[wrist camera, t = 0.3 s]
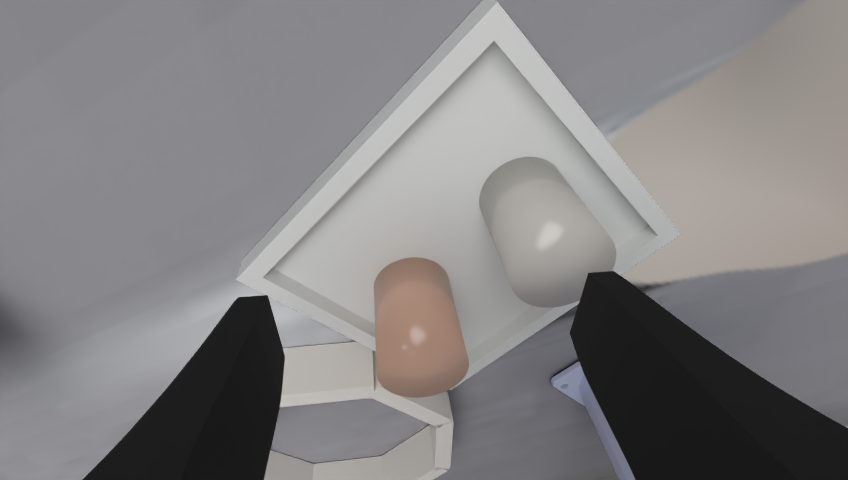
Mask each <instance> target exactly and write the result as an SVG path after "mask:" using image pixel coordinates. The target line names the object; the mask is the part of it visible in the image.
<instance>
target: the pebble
mask: <svg viewBox="0 0 848 480" xmlns="http://www.w3.org/2000/svg"><path fill="white" fill-rule="evenodd" d="M479 206H480V210H481V213H482V216H483V218H484V221H485V223H486V226H487V228H488V230H489V233H490V235H491V238H492V240H493V243H494V245H495V248H496V250H497V253H498V255H499V258H500V260H501V263H502V265H503V268H504V270H505V273H506V275H507V278H508V280H509V282H510V285H511V287H512V290H513V292H514V293H515V294H516V296H517V297H518V298H519V299H520V300H522V301H523V302H525V303H527V304H529V305H532V306H536V307H544V308H552V307H560V306H565V305H568V304H571V303H574V302H577V301H579V300H580V298H581V295H582V292H583V288H584V285H585V282H586V279H587V275H588V273H592V272H606V271H612V270H613V268H614V265H615V261H616V247H615V244H614V242H613V240H612V239H611V238H610V236H609V235H608V234H607V232H606V231H605V230H604V228H603V227H602V226H601V225H600V223H599V222H598V221H597V219H596V218H595V217H594V215H593V214H592V213H591V212H590V210H589V209H588V208H587V206H586V205H585V204H584V202H583V201H582V200H581V199H580V197H579V196H578V195H577V193H576V192H575V191H574V189H573V188H572V187H571V186H570V184H569V183H568V182H567V180H566V179H565V178H564V176H563V175H562V174H561V173H560V171H559V170H558V169H557V167H556V166H555V165H554V164H552V163H551V162H549V161H547V160H545V159H542V158H539V157H521V158H516V159H513V160H511V161H508V162H506V163H504V164H503V165H501V166H500V167H498V168H497V169H496V170H494V171H493V172H492V173H491V174H490V176H489V177H488V178H487V179H486V181H485V183H484V184H483V187H482V189H481V192H480V197H479Z"/></svg>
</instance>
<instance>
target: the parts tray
mask: <svg viewBox="0 0 848 480" xmlns="http://www.w3.org/2000/svg"><path fill="white" fill-rule="evenodd" d="M521 157H539V158H542V159H545V160H547V161H549V162H551V163H552V164H554V165H555V166H556V167H557V169H558V170H559V171H560V173H561V174H562V175H563V176H564V178H565V179H566V180H567V182H568V183H569V184H570V186H571V187H572V188H573V189H574V191H575V192H576V193H577V195H578V196H579V197H580V199H581V200H582V201H583V202H584V204H585V205H586V206H587V208H588V209H589V210H590V212H591V213H592V214H593V215H594V217H595V218H596V219H597V221H598V222H599V223H600V225H601V226H602V227H603V228H604V230H605V231H606V232H607V234H608V235H609V236H610V238H611V239H612V240H613V242H614V244H615V247H616V261H615V265H614V268H613V270H612V271H614V272H616V273H617V274H619V275H622V274H623V273H625V272H626V271H628V270H629V269H631V268H632V267H633V266H635V265H637V264H638V263H639V262H641V261H642V260H644V259H645V258H647V257H648V256H650V255H651V254H653V253H654V252H656V251H657V250H659V249H660V248H662V247H663V246H665V245H666V244H668V243H669V242H671V241H672V240H673V239H675V238H676V237H678V236H679V235H680V233H679V231H678V230H677V229H676V227H675V226H674V225H673V224H672V222H671V221H670V220H669V219H668V217H667V216H666V215H665V214H664V212H663V211H662V210H661V208H660V207H659V206H658V205H657V203H656V202H655V201H654V200H653V198H652V197H651V196H650V195H649V193H648V192H647V191H646V189H645V188H644V187H643V186H642V184H641V183H640V182H639V181H638V179H637V178H636V177H635V176H634V174H633V173H632V172H631V170H630V169H629V168H628V167H627V165H626V164H625V163H624V162H623V160H622V159H621V158H620V157H619V155H618V154H617V153H616V152H615V150H614V149H613V148H612V146H611V145H610V144H609V143H608V141H607V140H606V139H605V138H604V136H603V135H602V134H601V132H600V131H599V130H598V129H597V127H596V126H595V125H594V124H593V122H592V121H591V120H590V119H589V117H588V116H587V115H586V113H585V112H584V111H583V110H582V108H581V107H580V106H579V105H578V103H577V102H576V101H575V100H574V98H573V97H572V96H571V94H570V93H569V92H568V91H567V89H566V88H565V87H564V86H563V84H562V83H561V82H560V81H559V79H558V78H557V77H556V75H555V74H554V73H553V72H552V70H551V69H550V68H549V67H548V65H547V64H546V63H545V62H544V60H543V59H542V58H541V56H540V55H539V54H538V53H537V51H536V50H535V49H534V48H533V46H532V45H531V44H530V43H529V41H528V40H527V39H526V37H525V36H524V35H523V34H522V32H521V31H520V30H519V29H518V27H517V26H516V25H515V24H514V22H513V21H512V20H511V18H510V17H509V16H508V15H507V13H506V12H505V11H504V10H503V8H502V7H501V6H500V5H499V3H498V2H497V1H495V0H482V1H481V2H480V4H479V5H478V6H477V7H476V8H475V9H474V10H473V11H472V12H471V13H470V14H469V15H468V17H467V18H466V19H465V20H464V21H463V22H462V23H461V24H460V25H459V26H458V27H457V28H456V29H455V31H454V32H453V33H452V34H451V35H450V36H449V37H448V38H447V39H446V40H445V41H444V42H443V44H442V45H441V46H440V47H439V48H438V49H437V50H436V51H435V52H434V53H433V54H432V55H431V57H430V58H429V59H428V60H427V61H426V62H425V63H424V64H423V65H422V66H421V67H420V68H419V69H418V71H417V72H416V73H415V74H414V75H413V76H412V77H411V78H410V79H409V80H408V81H407V82H406V84H405V85H404V86H403V87H402V88H401V89H400V90H399V91H398V92H397V93H396V94H395V95H394V96H393V98H392V99H391V100H390V101H389V102H388V103H387V104H386V105H385V106H384V107H383V108H382V109H381V111H380V112H379V113H378V114H377V115H376V116H375V117H374V118H373V119H372V120H371V121H370V122H369V124H368V125H367V126H366V127H365V128H364V129H363V130H362V131H361V132H360V133H359V134H358V135H357V136H356V138H355V139H354V140H353V141H352V142H351V143H350V144H349V145H348V146H347V147H346V148H345V149H344V151H343V152H342V153H341V154H340V155H339V156H338V157H337V158H336V159H335V160H334V161H333V162H332V163H331V165H330V166H329V167H328V168H327V169H326V170H325V171H324V172H323V173H322V174H321V175H320V176H319V178H318V179H317V180H316V181H315V182H314V183H313V184H312V185H311V186H310V187H309V188H308V189H307V190H306V192H305V193H304V194H303V195H302V196H301V197H300V198H299V199H298V200H297V201H296V202H295V203H294V205H293V206H292V207H291V208H290V209H289V210H288V211H287V212H286V213H285V214H284V215H283V216H282V218H281V219H280V220H279V221H278V222H277V223H276V224H275V225H274V226H273V227H272V228H271V229H270V230H269V232H268V233H267V234H266V235H265V236H264V237H263V238H262V239H261V240H260V241H259V242H258V243H257V245H256V246H255V247H254V248H253V249H252V250H251V251H250V252H249V253H248V254H247V255H246V256H245V257H244V259H243V260H242V263H241V266H240V269H239V272H238V275H237V278H236V280H238V281H240V282H242V283H244V284H246V285H248V286H250V287H251V288H253V289H255V290H257V291H259V292H261V293H263V294H265V295H268V296H269V297H271V298H273V299H275V300H277V301H279V302H281V303H283V304H284V305H286V306H288V307H290V308H292V309H294V310H296V311H298V312H300V313H302V314H304V315H306V316H308V317H310V318H312V319H314V320H316V321H317V322H319V323H321V324H323V325H325V326H327V327H329V328H331V329H333V330H335V331H337V332H339V333H341V334H343V335H345V336H347V337H349V338H350V339H352V340H354V341H356V342H358V343H360V344H362V345H364V346H366V347H368V348H370V349H372V350H374V351H376V341H375V314H374V282H375V279H376V277H377V275H378V274H379V273H380V271H381V270H382V269H383V268H385V267H386V266H387V265H389V264H391V263H393V262H395V261H397V260H400V259H404V258H411V257H418V258H425V259H429V260H432V261H434V262H436V263H438V264H439V265H440V266H442V267H443V268H444V270H445V271H446V273H447V275H448V277H449V281H450V286H451V290H452V294H453V298H454V302H455V306H456V310H457V314H458V319H459V323H460V327H461V331H462V335H463V339H464V343H465V347H466V352H467V356H468V360H469V368H468V371H467V374H466V375H465V377H464V378H463V379H462V380H461V381H460V382H459V383H458V384H457V385H456V386H458V385H459V384H461V383H462V382H464V381H465V380H467V379H468V378H469V377H471V376H472V375H474V374H475V373H477V372H478V371H480V370H481V369H483V368H484V367H486V366H487V365H489V364H490V363H492V362H493V361H495V360H496V359H498V358H499V357H501V356H502V355H503V354H505V353H506V352H508V351H509V350H511V349H512V348H514V347H515V346H517V345H518V344H520V343H521V342H523V341H524V340H526V339H527V338H529V337H530V336H532V335H533V334H535V333H536V332H537V331H539V330H540V329H542V328H543V327H545V326H546V325H548V324H549V323H551V322H552V321H554V320H555V319H557V318H558V317H560V316H561V315H563V314H564V313H566V312H567V311H569V310H570V309H571V308H573V307H574V306H576V305H577V304H579V302H580V300H579V301H577V302H574V303H571V304H568V305H565V306H560V307H552V308H544V307H536V306H532V305H529V304H527V303H525V302H523V301H522V300H520V299H519V298H518V297H517V296H516V294H515V293H514V292H513V290H512V287H511V285H510V282H509V280H508V278H507V275H506V273H505V270H504V268H503V265H502V263H501V260H500V258H499V255H498V253H497V250H496V248H495V245H494V243H493V240H492V238H491V235H490V233H489V230H488V228H487V226H486V223H485V221H484V218H483V216H482V213H481V210H480V206H479V197H480V192H481V189H482V187H483V184H484V183H485V181H486V179H487V178H488V177H489V176H490V174H491V173H492V172H493V171H494V170H496V169H497V168H498V167H500V166H501V165H503V164H504V163H506V162H508V161H511V160H513V159H516V158H521ZM456 386H454V387H453V388H455V387H456ZM453 388H451V389H449V390H452V389H453Z"/></svg>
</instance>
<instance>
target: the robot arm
mask: <svg viewBox="0 0 848 480" xmlns="http://www.w3.org/2000/svg"><path fill="white" fill-rule="evenodd" d="M570 335H571V338H572V341H573V344H574V347H575V350H576V353H577V356H578V359H579V361H578V362H576V363H575V364H573V365H572V366H570V367H568V368H567V369H565V370H564V371H562V372H560V373H559V374H557V375H555V376H554V377H553V378H552V379H551V383H552V385H553V387H555V388H556V389H558V390H559V391H561V392H563V393H564V394H566V395H567V396H569V397H570V398H572V399H574V400H575V401H577V402H578V403H580V404H582V405H583V406H585V407H586V408H587V411H588V413H589V415H590V417H591V419H592V422H593V424H594V426H595V428H596V430H597V433H598V435H599V437H600V439H601V441H602V443H603V446H604V448H605V450H606V452H607V454H608V457H609V459H610V461H611V463H612V465H613V468H614V470H615V472H616V474H617V476H618V479H619V480H848V428H846V427H844V426H843V425H841V424H839V423H837V422H835V421H834V420H832V419H830V418H828V417H827V416H825V415H823V414H821V413H820V412H818V411H816V410H814V409H813V408H811V407H809V406H808V405H806V404H804V403H803V402H801V401H799V400H798V399H796V398H794V397H793V396H791V395H789V394H788V393H786V392H784V391H783V390H781V389H779V388H778V387H776V386H775V385H773V384H771V383H770V382H768V381H767V380H765V379H763V378H762V377H760V376H759V375H757V374H756V373H754V372H753V371H751V370H750V369H748V368H747V367H745V366H744V365H742V364H741V363H739V362H738V361H736V360H735V359H733V358H732V357H730V356H729V355H727V354H726V353H725V352H723V351H722V350H720V349H719V348H717V347H716V346H715V345H713V344H712V343H710V342H709V341H708V340H706V339H705V338H703V337H702V336H701V335H699V334H698V333H696V332H695V331H694V330H692V329H691V328H690V327H688V326H687V325H686V324H684V323H683V322H681V321H680V320H679V319H677V318H676V317H675V316H673V315H672V314H671V313H669V312H668V311H667V310H666V309H664V308H663V307H662V306H660V305H659V304H658V303H656V302H655V301H654V300H652V299H651V298H650V297H648V296H647V295H646V294H644V293H643V292H642V291H640V290H639V289H638V288H636V287H635V286H634V285H632V284H631V283H630V282H628V281H627V280H626V279H624V278H623V277H622V276H620V275H619V274H617V273H616V272H614V271H606V272H592V273H588V275H587V279H586V282H585V285H584V288H583V292H582V295H581V298H580V302H579V305H578V308H577V311H576V315H575V318H574V321H573V325H572V328H571V331H570ZM284 363H285V355H284V352H283V348H282V344H281V341H280V337H279V334H278V330H277V327H276V323H275V320H274V316H273V313H272V309H271V306H270V302H269V299H268V295H265V296H251V297H238V298H237V299H236V300H235V301H234V303H233V304H232V305H231V307H230V308H229V309H228V311H227V312H226V313H225V315H224V316H223V317H222V319H221V320H220V321H219V323H218V324H217V325H216V327H215V328H214V329H213V331H212V332H211V333H210V335H209V336H208V337H207V339H206V340H205V341H204V343H203V344H202V345H201V347H200V348H199V349H198V350H197V352H196V353H195V354H194V355H193V357H192V358H191V359H190V360H189V362H188V363H187V364H186V365H185V367H184V368H183V369H182V370H181V372H180V373H179V374H178V375H177V377H176V378H175V379H174V380H173V382H172V383H171V384H170V385H169V386H168V388H167V389H166V390H165V391H164V392H163V393H162V395H161V396H160V397H159V398H158V399H157V400H156V401H155V403H154V404H153V405H152V406H151V407H150V408H149V409H148V411H147V412H146V413H145V414H144V415H143V416H142V417H141V419H140V420H139V421H138V422H137V423H136V424H135V425H134V427H133V428H132V429H131V430H130V431H129V432H128V433H127V434H126V435H125V436H124V437H123V439H122V440H121V441H120V442H119V443H118V444H117V445H116V446H115V447H114V448H113V449H112V450H111V451H110V452H109V453H108V454H107V455H106V456H105V458H104V459H103V460H102V461H101V462H100V463H99V464H98V465H97V466H96V467H95V468H94V469H93V470H92V471H91V472H90V473H89V474H88V475H87V476H86V477H85V478H84V479H83V480H264V477H265V472H266V468H267V463H268V459H269V454H270V449H271V445H272V440H273V436H274V431H275V426H276V422H277V417H278V412H279V407H280V403H281V394H282V385H283V374H284Z"/></svg>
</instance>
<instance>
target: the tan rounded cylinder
mask: <svg viewBox="0 0 848 480" xmlns="http://www.w3.org/2000/svg"><path fill="white" fill-rule="evenodd" d="M374 314H375V341H376V368H377V378H378V381H379V383H380V384H381V385H382V386H383V387H384V388H385V389H386V390H388V391H389V392H391V393H393V394H396V395H399V396H404V397H412V398H419V397H429V396H433V395H437V394H440V393H443V392H445V391H447V390H449V389H451V388H453V387H454V386H456V385H457V384H458V383H459V382H460V381H461V380H462V379H463V378H464V377H465V375H466V374H467V371H468V368H469V360H468V356H467V352H466V347H465V343H464V339H463V335H462V331H461V327H460V323H459V319H458V314H457V310H456V306H455V302H454V298H453V294H452V290H451V286H450V281H449V277H448V275H447V273H446V271H445V270H444V268H443V267H442V266H440V265H439V264H438V263H436V262H434V261H432V260H429V259H425V258H418V257H411V258H404V259H400V260H397V261H395V262H393V263H391V264H389V265H387V266H386V267H385V268H383V269H382V270H381V271H380V273H379V274H378V275H377V277H376V279H375V282H374Z"/></svg>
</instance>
